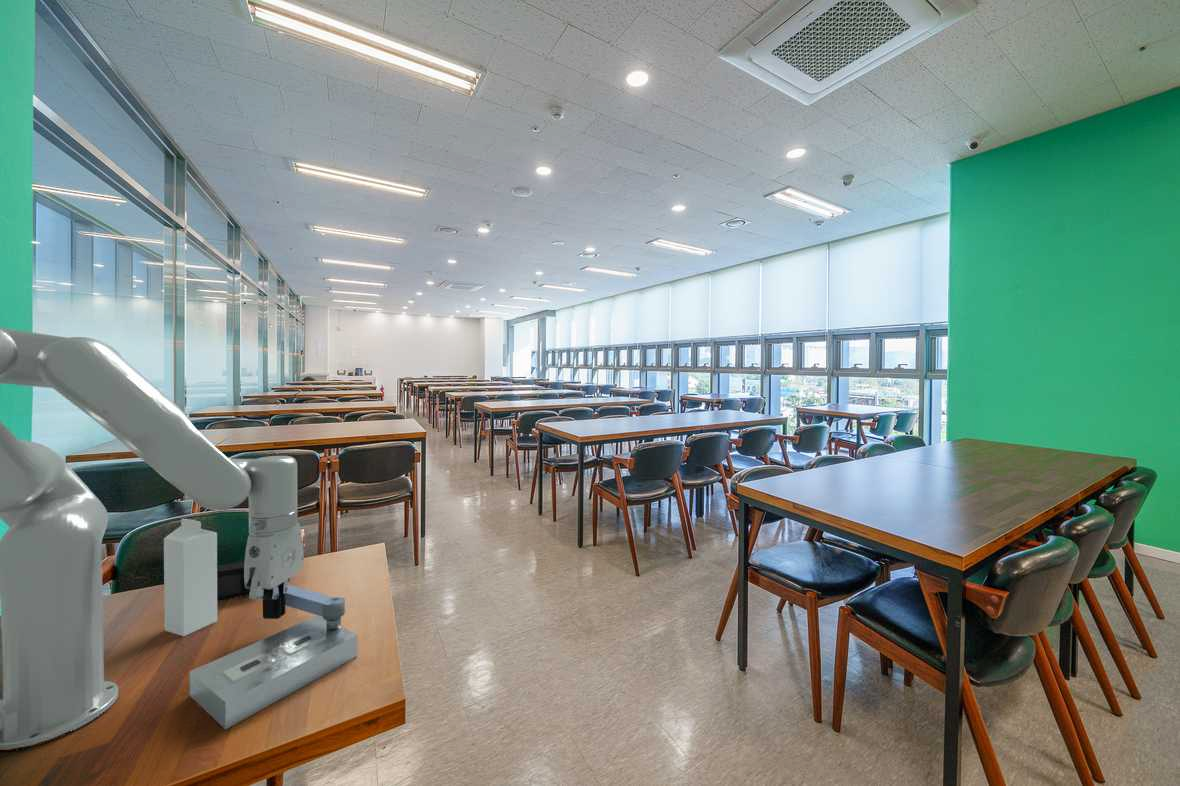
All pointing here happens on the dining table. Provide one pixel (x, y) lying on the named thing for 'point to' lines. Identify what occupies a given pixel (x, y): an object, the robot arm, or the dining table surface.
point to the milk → (190, 578)
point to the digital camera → (231, 581)
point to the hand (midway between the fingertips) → (274, 616)
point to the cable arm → (315, 603)
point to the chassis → (271, 669)
